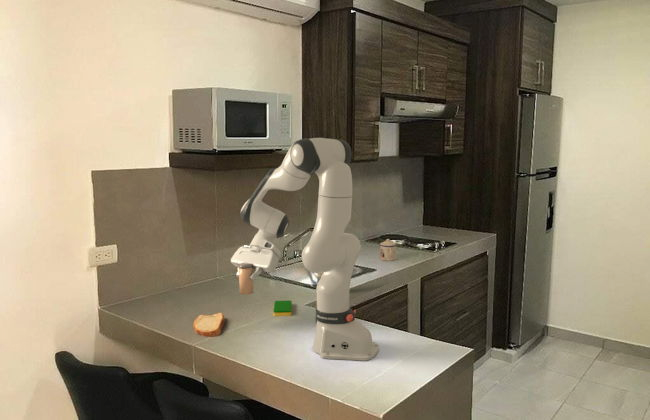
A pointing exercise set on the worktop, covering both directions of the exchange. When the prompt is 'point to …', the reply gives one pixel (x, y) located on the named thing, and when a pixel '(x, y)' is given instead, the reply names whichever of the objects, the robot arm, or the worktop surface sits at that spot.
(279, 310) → the dish sponge
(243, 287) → the grey-capped jar
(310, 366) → the worktop surface
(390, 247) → the teacup with lid
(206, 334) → the slice of bread
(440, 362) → the worktop surface
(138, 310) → the worktop surface
